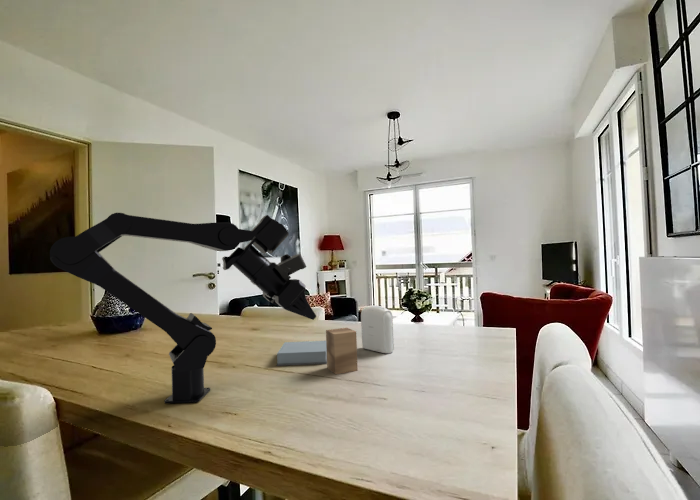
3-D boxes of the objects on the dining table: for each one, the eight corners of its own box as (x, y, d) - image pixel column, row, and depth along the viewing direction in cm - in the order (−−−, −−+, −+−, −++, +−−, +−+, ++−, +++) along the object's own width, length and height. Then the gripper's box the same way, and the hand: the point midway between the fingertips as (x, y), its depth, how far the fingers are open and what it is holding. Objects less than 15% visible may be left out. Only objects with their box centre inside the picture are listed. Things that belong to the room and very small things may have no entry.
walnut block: (357, 370, 84) (356, 331, 85) (335, 374, 82) (334, 334, 82) (348, 364, 89) (347, 327, 90) (327, 367, 87) (325, 330, 87)
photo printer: (359, 348, 105) (358, 305, 105) (370, 345, 107) (369, 303, 108) (385, 355, 97) (383, 308, 97) (396, 352, 99) (394, 306, 100)
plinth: (326, 363, 91) (326, 351, 91) (276, 365, 90) (276, 353, 90) (328, 350, 103) (328, 340, 103) (284, 352, 103) (284, 342, 103)
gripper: (293, 239, 73) (346, 291, 77) (274, 244, 90) (318, 286, 94) (254, 281, 69) (312, 333, 74) (242, 277, 86) (289, 319, 91)
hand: (308, 315), depth 83 cm, fingers open, 9 cm apart
